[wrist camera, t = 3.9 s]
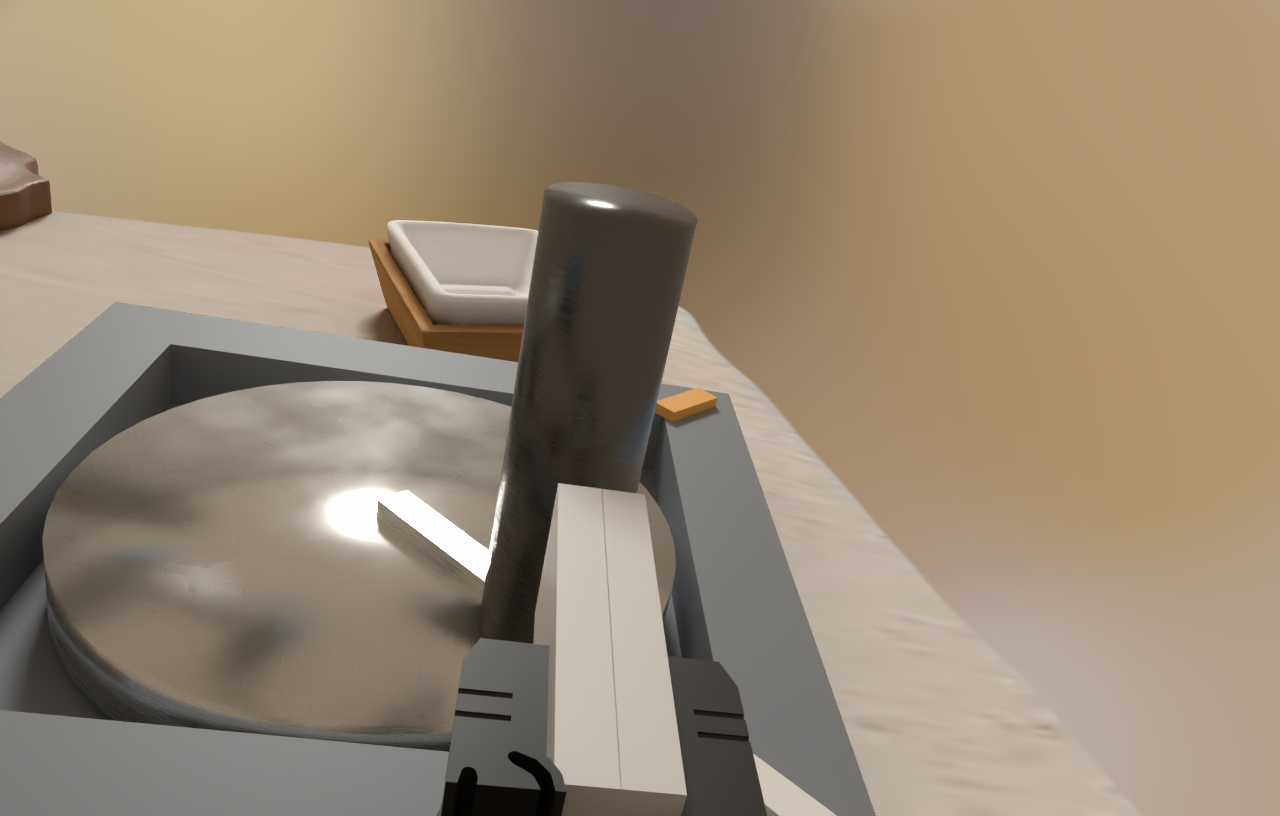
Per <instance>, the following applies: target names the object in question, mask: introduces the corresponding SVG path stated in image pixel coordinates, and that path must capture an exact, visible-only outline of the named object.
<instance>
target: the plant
mask: <svg viewBox="0 0 1280 816" xmlns="http://www.w3.org/2000/svg"><path fill="white" fill-rule="evenodd" d="M51 213H52V207H51V194H50V183H49V180H47V179H45V178H43V177H40V176H38V165H37V162H36V159H35V158H33V157H32V156H30V155H28V154H26V153H24V152H21V151H18V150H16V149H14V148H11V147H10V146H8V145H6V144H4V143H2V142H0V230H5V229H10V228H14V227H18V226H21V225H23V224H25V223H27V222H28V221H30V220H32V219H34V218H37V217H40V216H44V215H47V214H51Z"/></svg>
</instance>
